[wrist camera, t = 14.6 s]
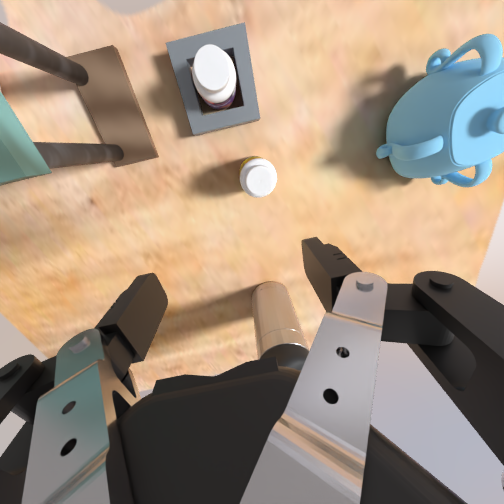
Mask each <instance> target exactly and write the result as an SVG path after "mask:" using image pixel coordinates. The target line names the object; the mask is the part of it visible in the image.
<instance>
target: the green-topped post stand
mask: <svg viewBox="0 0 504 504" xmlns="http://www.w3.org/2000/svg"><path fill="white" fill-rule="evenodd" d="M0 54H3V55H5V56H8V57H10V58H13V59H15V60H18V61H20V62H23V63H25V64H28V65H30V66H33V67H35V68H38V69H40V70H43V71H45V72H48V73H50V74H53V75H56V76H58V77H61V78H63V79H66V80H68V81H71V82H73V83H76V85H77V87H78V89H79V91H80V93H81V95H82V97H83V99H84V101H85V104H86V106H87V108H88V110H89V112H90V114H91V116H92V118H93V120H94V122H95V124H96V126H97V128H98V130H99V132H100V134H101V137H102V139H103V141H104V143H105V144H85V143H46V142H32V140H31V139H30V137H29V135H28V134H27V132H26V131H25V129H24V128H23V126H22V124H21V123H20V121H19V120H18V118H17V116H16V115H15V113H14V112H13V110H12V109H11V107H10V105H9V104H8V102H7V101H6V99H5V97H4V96H3V94H2V93H1V91H0V185H4V184H8V183H12V182H17V181H21V180H25V179H29V178H33V177H37V176H41V175H45V174H50V173H52V172H51V170H50V169H49V168H58V167H67V166H76V165H85V164H93V163H102V162H111V161H114V163H115V165H116V167H119V166H124V165H128V164H132V163H136V162H140V161H144V160H149V159H153V158H157V157H159V156H158V153H157V151H156V148H155V146H154V143H153V140H152V138H151V135H150V133H149V130H148V127H147V125H146V122H145V120H144V117H143V114H142V112H141V109H140V107H139V104H138V101H137V99H136V96H135V94H134V91H133V89H132V86H131V83H130V81H129V78H128V76H127V73H126V70H125V68H124V65H123V63H122V60H121V57H120V55H119V52H118V50H117V48H115V47H114V46H113V45H111V46H107V47H104V48H100V49H96V50H92V51H88V52H84V53H81V54H77V55H73V56H69V57H64V56H63V55H61V54H59V53H57V52H55V51H53V50H51V49H49V48H47V47H46V46H44V45H42V44H40V43H38V42H36V41H34V40H32V39H31V38H29V37H27V36H25V35H23V34H21V33H19V32H17V31H15V30H14V29H12V28H10V27H8V26H6V25H4V24H2V23H0Z"/></svg>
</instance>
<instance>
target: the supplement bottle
mask: <svg viewBox="0 0 504 504" xmlns="http://www.w3.org/2000/svg"><path fill="white" fill-rule="evenodd" d="M239 176H240V183H241V186H242V188H243V190H244V191H245V192H246V193H247V194H248V195H250V196H252V197H264V196H266V195H268V194H269V193H270V192H271V191H272V190H273V189H274V187H275V185H276V182H277V174H276V170H275V168H274V166H273V165H272V164H271V163H270V162H269V161H267V160H265V159H263V158H261V157H258V156H252V157H249V158H247V159H246V160H244V161H243V163H242V164H241V166H240V170H239Z"/></svg>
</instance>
